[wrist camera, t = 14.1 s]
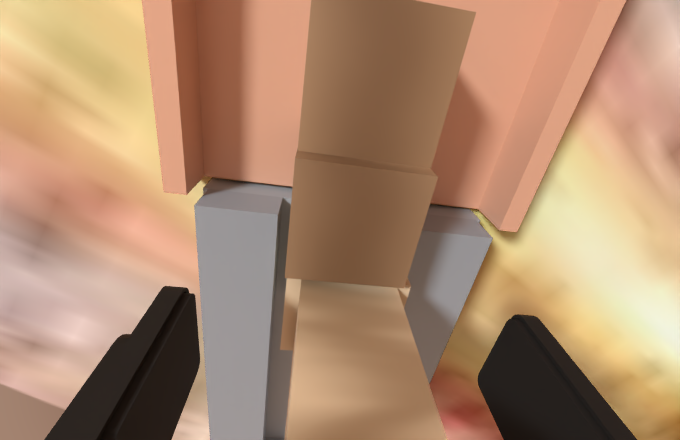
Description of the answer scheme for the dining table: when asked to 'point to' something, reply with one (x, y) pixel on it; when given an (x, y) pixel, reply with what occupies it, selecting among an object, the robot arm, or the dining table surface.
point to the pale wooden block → (354, 365)
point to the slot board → (269, 296)
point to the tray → (288, 80)
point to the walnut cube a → (355, 219)
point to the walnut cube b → (380, 78)
